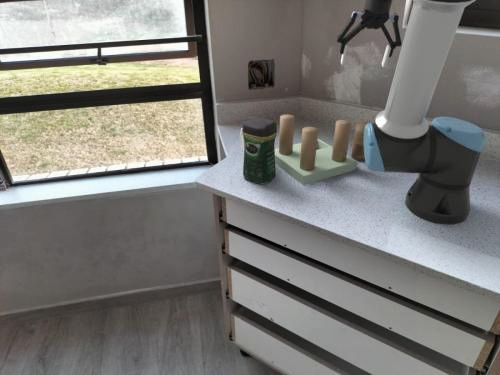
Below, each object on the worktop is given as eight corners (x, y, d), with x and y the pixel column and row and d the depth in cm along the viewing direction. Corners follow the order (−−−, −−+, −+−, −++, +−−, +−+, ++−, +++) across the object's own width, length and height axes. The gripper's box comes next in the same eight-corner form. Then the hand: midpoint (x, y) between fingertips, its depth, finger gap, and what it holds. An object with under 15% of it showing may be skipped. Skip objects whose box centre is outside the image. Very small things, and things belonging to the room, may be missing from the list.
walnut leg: (367, 159, 121) (373, 125, 115) (357, 162, 119) (362, 127, 113) (358, 154, 124) (363, 120, 118) (348, 157, 122) (353, 123, 116)
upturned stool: (356, 169, 115) (363, 124, 107) (302, 185, 107) (306, 137, 99) (317, 146, 130) (321, 105, 122) (268, 158, 122) (269, 115, 114)
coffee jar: (279, 177, 111) (282, 118, 102) (264, 187, 106) (265, 126, 96) (254, 168, 116) (254, 111, 107) (238, 178, 111) (237, 119, 101)
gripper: (420, -6, 110) (398, 62, 125) (336, -11, 111) (324, 57, 126) (426, 2, 105) (403, 72, 119) (338, -4, 106) (325, 66, 121)
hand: (362, 64), depth 123 cm, fingers open, 13 cm apart
